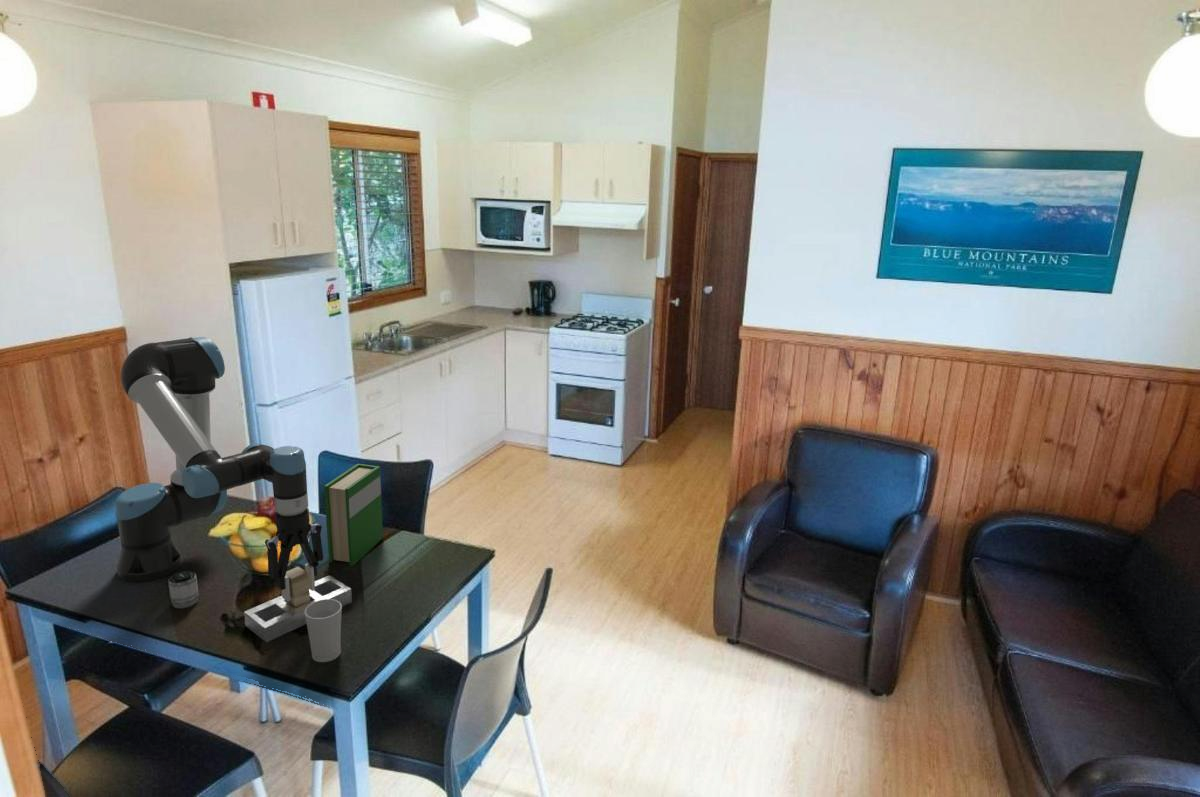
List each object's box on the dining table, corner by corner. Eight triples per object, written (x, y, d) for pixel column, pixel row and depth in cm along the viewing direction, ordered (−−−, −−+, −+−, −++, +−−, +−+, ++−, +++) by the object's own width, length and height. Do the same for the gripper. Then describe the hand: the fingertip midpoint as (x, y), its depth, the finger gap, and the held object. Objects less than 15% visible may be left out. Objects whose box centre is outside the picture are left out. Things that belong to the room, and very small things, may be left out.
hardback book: (352, 566, 202) (348, 489, 195) (329, 562, 203) (324, 485, 196) (382, 538, 218) (379, 466, 211) (361, 534, 219) (357, 463, 213)
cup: (332, 638, 169) (330, 595, 166) (351, 653, 164) (348, 608, 161) (301, 653, 163) (297, 608, 160) (319, 669, 158) (316, 623, 155)
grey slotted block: (245, 625, 172) (243, 611, 171) (330, 588, 190) (329, 575, 189) (266, 642, 167) (264, 628, 165) (351, 602, 184) (351, 588, 183)
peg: (288, 614, 178) (283, 573, 174) (303, 607, 181) (298, 566, 177) (297, 620, 176) (291, 578, 172) (311, 613, 179) (306, 571, 175)
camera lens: (180, 612, 176) (176, 584, 174) (166, 603, 180) (162, 576, 177) (204, 600, 182) (201, 573, 179) (190, 592, 185) (187, 566, 182)
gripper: (261, 527, 161) (270, 615, 167) (335, 502, 175) (340, 584, 182) (245, 517, 165) (254, 603, 172) (318, 493, 179) (324, 573, 186)
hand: (298, 593), depth 177 cm, fingers open, 6 cm apart
